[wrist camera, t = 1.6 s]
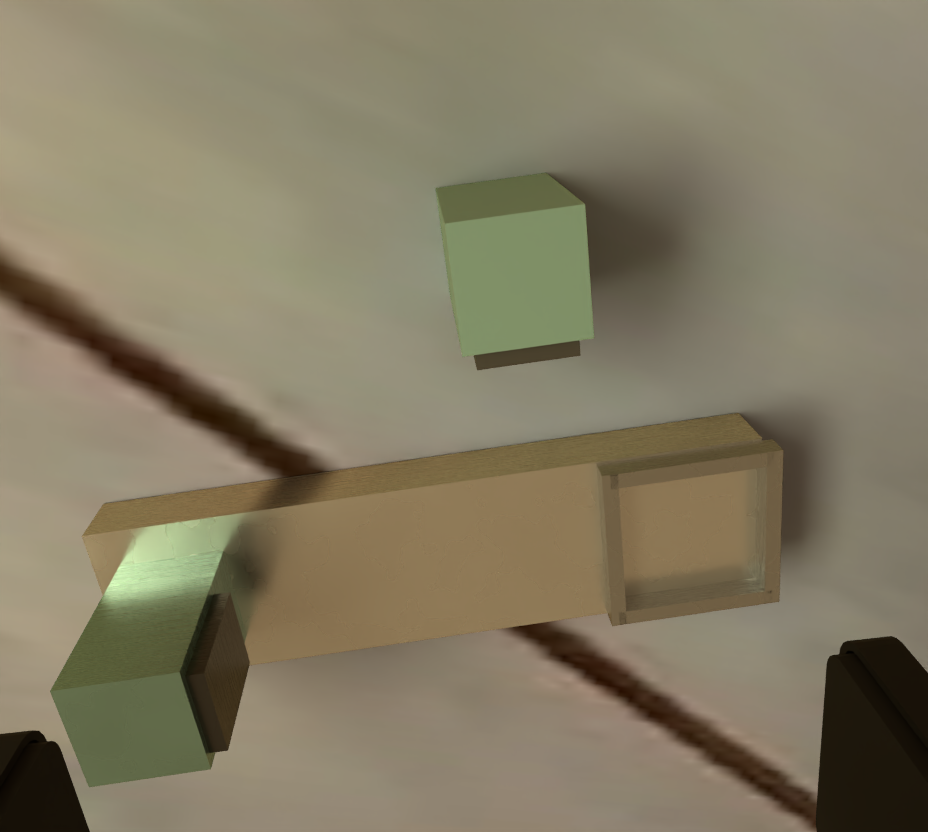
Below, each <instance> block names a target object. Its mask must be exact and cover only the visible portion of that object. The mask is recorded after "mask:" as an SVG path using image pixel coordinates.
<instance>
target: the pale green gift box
mask: <svg viewBox="0 0 928 832" xmlns="http://www.w3.org/2000/svg"><path fill="white" fill-rule="evenodd" d="M436 196H437V203H438V211H439V218H440V225H441V233H442V240H443V247H444V255H445V262H446V269H447V277H448V284H449V292H450V298H451V303H452V308H453V313H454V318H455V322H456V327H457V332H458V337H459V342H460V347H461V352H462V357H465V356H472V355H474V359H475V363H476V367H477V370H482V369H489V368H496V367H503V366H510V365H517V364H524V363H531V362H538V361H545V360H552V359H559V358H566V357H573V356H580V343H579V340H585V339H592V338H594V329H593V314H592V299H591V285H590V270H589V255H588V240H587V225H586V210H585V204H584V203H583V202H582V201H581V200H579V199H578V198H577V197H576V196H574V195H573V194H572V193H571V192H569V191H568V190H567V189H566V188H564V187H563V186H562V185H561V184H559V183H558V182H557V181H556V180H554V179H553V178H552V177H551V176H550V175H548V174H547V173H541V174H533V175H526V176H519V177H512V178H505V179H497V180H490V181H483V182H476V183H469V184H461V185H454V186H447V187H440V188H436Z"/></svg>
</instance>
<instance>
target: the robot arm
mask: <svg viewBox="0 0 928 832" xmlns="http://www.w3.org/2000/svg"><path fill="white" fill-rule="evenodd" d="M816 828H817V832H928V673H927V671H926V670H925V669H924V668H923V667H922V666H921V664H920V663H919V662H918V661H917V660H916V659H915V657H914V656H913V655H912V654H911V653H910V652H909V650H908V649H907V648H906V647H905V646H904V644H903V643H902V642H900V641H899V640H898V639H897V638H895V637H892V636H889V637H880V638H871V639H862V640H853V641H847V642H844V643H843V644H842V646H841V648H840V653H839V655H832V656H830V657H829V659H828V661H827V669H826V683H825V697H824V711H823V725H822V739H821V753H820V767H819V782H818V796H817V810H816ZM0 832H90V831H89V828H88V826H87V823H86V820H85V817H84V814H83V811H82V809H81V806H80V803H79V800H78V797H77V794H76V792H75V789H74V786H73V783H72V780H71V777H70V775H69V772H68V769H67V766H66V763H65V760H64V758H63V755H62V752H61V749H60V747H59V745H58V744H57V743H56V742H54V741H48V742H47V741H46V739H45V737H44V735H43V734H42V733H41V732H39V731H24V732H15V733H6V734H0Z"/></svg>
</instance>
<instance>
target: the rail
mask: <svg viewBox="0 0 928 832" xmlns="http://www.w3.org/2000/svg"><path fill="white" fill-rule="evenodd" d="M782 484H783V449H782V448H781V447H780V446H779V445H778V444H777V443H776V442H775V441H774V440H773V439H770V440H763V441H762V438H761V436H760V435H759V434H758V433H757V432H756V431H755V430H754V429H753V428H752V427H751V426H750V425H749V424H748V423H747V422H746V421H745V420H744V419H743V417H742V416H741V415H740V414H739V413H734V414H727V415H720V416H713V417H706V418H699V419H692V420H685V421H678V422H671V423H664V424H657V425H650V426H643V427H636V428H630V429H623V430H616V431H609V432H602V433H595V434H588V435H581V436H574V437H567V438H560V439H553V440H546V441H539V442H532V443H525V444H518V445H511V446H504V447H497V448H490V449H483V450H476V451H469V452H462V453H455V454H448V455H441V456H434V457H427V458H420V459H413V460H406V461H399V462H392V463H385V464H378V465H371V466H364V467H357V468H351V469H344V470H337V471H330V472H323V473H316V474H309V475H302V476H295V477H288V478H281V479H274V480H267V481H260V482H253V483H246V484H239V485H232V486H225V487H218V488H211V489H204V490H197V491H190V492H183V493H176V494H169V495H162V496H155V497H148V498H141V499H134V500H127V501H120V502H113V503H106V504H103V505H102V507H101V508H100V510H99V511H98V513H97V514H96V516H95V517H94V519H93V520H92V522H91V523H90V525H89V526H88V528H87V529H86V531H85V532H84V534H83V535H82V538H83V541H84V544H85V546H86V549H87V552H88V555H89V558H90V560H91V563H92V566H93V569H94V572H95V575H96V577H97V580H98V583H99V586H100V589H101V591H102V594H103V597H102V599H101V600H100V602H99V604H98V606H97V608H96V609H95V611H94V613H93V615H92V617H91V618H90V620H89V622H88V624H87V626H86V627H85V629H84V631H83V633H82V635H81V636H80V638H79V640H78V642H77V644H76V646H75V647H74V649H73V651H72V653H71V655H70V656H69V658H68V660H67V662H66V664H65V665H64V667H63V669H62V671H61V673H60V674H59V676H58V678H57V680H56V682H55V683H54V685H53V687H52V689H51V691H50V692H51V695H52V697H53V700H54V702H55V705H56V707H57V710H58V712H59V714H60V717H61V719H62V722H63V724H64V727H65V729H66V732H67V734H68V737H69V739H70V742H71V744H72V746H73V749H74V751H75V754H76V756H77V759H78V761H79V764H80V766H81V769H82V771H83V774H84V776H85V778H86V781H87V783H88V786H89V787H94V786H100V785H107V784H114V783H121V782H127V781H134V780H141V779H148V778H155V777H161V776H168V775H175V774H182V773H188V772H195V771H202V770H209V769H211V767H212V763H213V759H214V756H215V752H220V751H227V750H228V748H229V744H230V740H231V736H232V732H233V728H234V724H235V720H236V716H237V712H238V708H239V704H240V700H241V696H242V692H243V688H244V684H245V680H246V676H247V672H248V668H249V665H255V664H262V663H269V662H276V661H282V660H289V659H296V658H303V657H310V656H317V655H323V654H330V653H337V652H344V651H351V650H358V649H364V648H371V647H378V646H385V645H392V644H399V643H405V642H412V641H419V640H426V639H433V638H440V637H447V636H453V635H460V634H467V633H474V632H481V631H488V630H494V629H501V628H508V627H515V626H522V625H529V624H535V623H542V622H549V621H556V620H563V619H570V618H576V617H583V616H590V615H597V614H604V613H608V616H609V619H610V621H611V624H612V626H616V625H623V624H630V623H636V622H643V621H650V620H657V619H664V618H671V617H677V616H684V615H691V614H698V613H705V612H712V611H718V610H725V609H732V608H739V607H746V606H753V605H759V604H766V603H773V602H779V593H780V557H781V520H782Z"/></svg>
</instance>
